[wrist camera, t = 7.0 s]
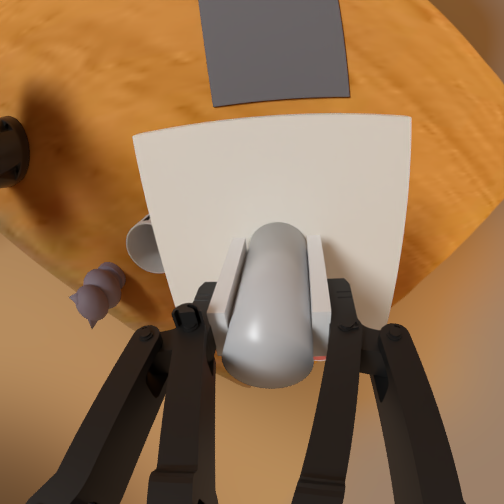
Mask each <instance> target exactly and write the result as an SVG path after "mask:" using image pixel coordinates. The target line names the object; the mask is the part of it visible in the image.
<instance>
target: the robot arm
mask: <svg viewBox="0 0 504 504" xmlns="http://www.w3.org/2000/svg"><path fill="white" fill-rule="evenodd" d="M28 165H29V145H28V140H27V136H26V134H25V131H24V129H23V127H22V126H21V124H20V123H19V122H18V121H17V120H16V119H15V118H13V117H11V116H4V117H1V118H0V188H6V187H11V186H13V185H15V184H16V183H18V182H20V181H21V180H22V179H23V178H24V176H25V174H26V172H27V169H28ZM307 254H308V268H309V284H310V301H311V321H312V333H313V357H316V356H326V361H325V367H324V372H323V378H322V383H321V388H320V393H319V398H318V403H317V408H316V413H315V417H314V422H313V426H312V431H311V435H310V439H309V443H308V448H307V452H306V456H305V460H304V464H303V467H302V471H301V475H300V478H299V481H298V483H297V486H296V490H295V493H294V497H293V500H292V503H291V504H342V503H343V499H344V493H345V479H346V473H347V467H348V462H349V455H350V449H351V443H352V436H353V429H354V420H355V413H356V404H357V394H358V383H359V372H360V373H365V374H370V378H371V382H372V386H373V390H374V394H375V399H376V403H377V408H378V412H379V417H380V421H381V426H382V431H383V436H384V441H385V446H386V452H387V457H388V463H389V469H390V475H391V481H392V487H393V494H394V501H395V504H466V503H465V502H464V501H463V497H462V492H461V488H460V483H459V479H458V475H457V471H456V467H455V463H454V460H453V456H452V452H451V449H450V445H449V442H448V438H447V435H446V432H445V429H444V425H443V422H442V419H441V416H440V413H439V410H438V407H437V404H436V401H435V398H434V395H433V392H432V390H431V387H430V384H429V382H428V379H427V376H426V374H425V371H424V368H423V366H422V363H421V361H420V358H419V356H418V353H417V351H416V348H415V346H414V344H413V341H412V338H411V336H410V334H409V332H408V330H407V329H406V328H405V327H403V326H402V325H399V324H392V323H390V324H387V325H385V326H383V327H382V328H381V330H376V329H371V328H368V327H366V326H364V325H363V324H361V322H360V321H359V319H358V318H357V314H356V309H355V305H354V300H353V296H352V292H351V287H350V284H349V283H348V282H347V280H346V279H345V278H333V279H327V276H326V269H325V262H324V256H323V250H322V243H321V237H320V235H307ZM246 256H247V246H246V238H233V239H232V241H231V244H230V247H229V250H228V253H227V255H226V258H225V261H224V264H223V267H222V270H221V272H220V275H219V278H218V281H217V282H204V283H203V284H202V285H201V286H200V287H199V289H198V291H197V293H196V296H195V298H194V301H193V303H184V304H181V305H179V306H177V307H176V308H175V309H174V310H173V312H172V317H173V320H174V323H175V326H176V328H175V329H172V330H168V331H163V332H160V331H159V329H158V328H157V327H155V326H152V325H148V326H144V327H141V328H139V329H138V330H137V331H136V332H135V333H134V334H133V336H132V338H131V339H130V341H129V342H128V344H127V346H126V347H125V349H124V351H123V352H122V354H121V356H120V357H119V359H118V361H117V363H116V364H115V366H114V367H113V369H112V371H111V373H110V375H109V376H108V378H107V380H106V381H105V383H104V385H103V386H102V388H101V390H100V392H99V393H98V395H97V397H96V399H95V401H94V402H93V404H92V406H91V408H90V410H89V412H88V413H87V415H86V417H85V419H84V421H83V422H82V424H81V426H80V428H79V430H78V432H77V434H76V435H75V437H74V439H73V441H72V443H71V445H70V447H69V449H68V451H67V453H66V455H65V457H64V459H63V461H62V463H61V465H60V467H59V469H58V471H57V472H56V473H55V474H54V476H52V477H51V478H50V479H49V480H48V481H47V482H46V483H45V484H44V485H43V486H42V487H41V488H40V489H39V490H38V491H37V492H36V493H35V494H34V495H33V496H32V497H31V498H30V499H29V500H28V501H27V503H26V504H120V502H121V500H122V498H123V495H124V493H125V490H126V488H127V485H128V483H129V480H130V478H131V475H132V473H133V470H134V468H135V466H136V463H137V461H138V458H139V456H140V453H141V451H142V448H143V446H144V444H145V441H146V439H147V436H148V434H149V431H150V429H151V427H152V425H153V422H154V420H155V418H156V415H157V413H158V411H159V408H160V406H161V403H162V401H163V399H164V396H165V394H166V396H165V403H164V411H163V418H162V428H161V435H160V444H159V454H158V463H157V468H156V470H154V471H153V472H151V474H150V477H149V483H148V494H147V504H218V500H217V495H216V491H215V373H216V362H215V358H214V354H215V350H216V351H217V354H218V356H222V353H223V348H224V344H225V340H226V336H227V332H228V328H229V324H230V320H231V316H232V312H233V308H234V304H235V300H236V296H237V292H238V288H239V284H240V280H241V276H242V272H243V268H244V264H245V260H246Z"/></svg>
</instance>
